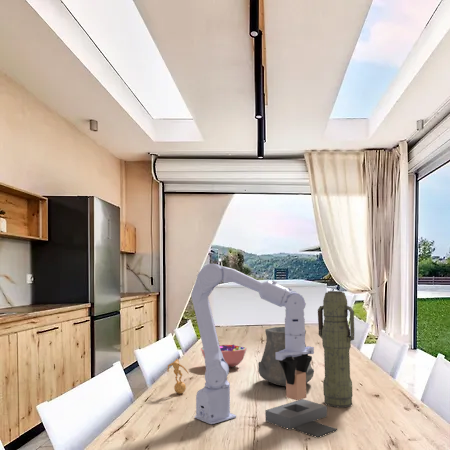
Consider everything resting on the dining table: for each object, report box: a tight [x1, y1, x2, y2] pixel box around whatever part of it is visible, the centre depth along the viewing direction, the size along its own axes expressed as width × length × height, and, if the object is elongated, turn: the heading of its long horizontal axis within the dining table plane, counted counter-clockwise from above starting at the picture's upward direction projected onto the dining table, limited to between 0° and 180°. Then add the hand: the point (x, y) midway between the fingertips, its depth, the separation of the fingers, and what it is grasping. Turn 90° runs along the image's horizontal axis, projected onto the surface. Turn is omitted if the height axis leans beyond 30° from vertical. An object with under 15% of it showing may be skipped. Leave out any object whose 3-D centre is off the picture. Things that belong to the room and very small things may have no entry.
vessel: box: [257, 326, 315, 387], centre depth 167 cm, size 22×22×20 cm
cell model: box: [200, 344, 247, 368], centre depth 194 cm, size 17×20×11 cm
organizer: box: [264, 398, 328, 430], centre depth 128 cm, size 16×9×3 cm, turn 130°
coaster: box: [293, 421, 338, 438], centre depth 119 cm, size 8×8×1 cm
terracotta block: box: [285, 370, 307, 401], centre depth 129 cm, size 4×4×7 cm
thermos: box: [317, 290, 355, 408], centre depth 144 cm, size 9×12×35 cm
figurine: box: [166, 358, 189, 395], centre depth 154 cm, size 8×6×12 cm
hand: (295, 382), depth 129 cm, fingers closed on terracotta block, 4 cm apart
